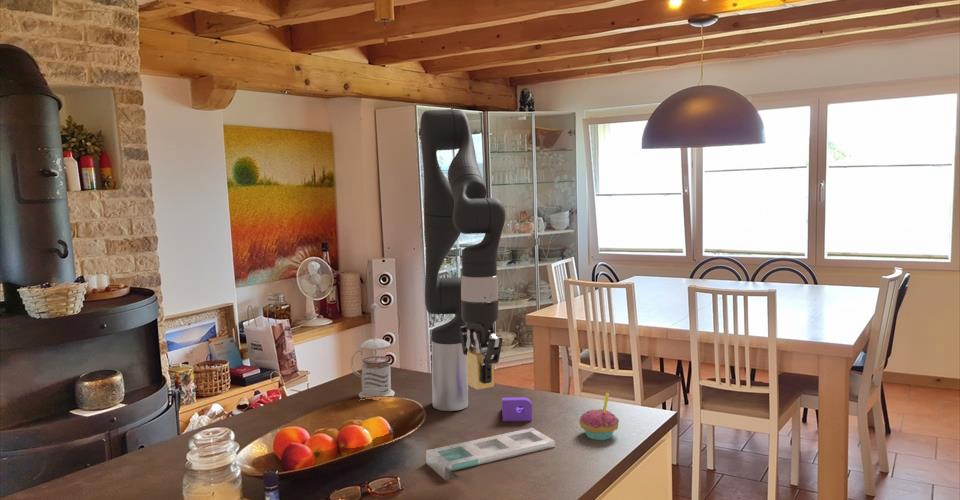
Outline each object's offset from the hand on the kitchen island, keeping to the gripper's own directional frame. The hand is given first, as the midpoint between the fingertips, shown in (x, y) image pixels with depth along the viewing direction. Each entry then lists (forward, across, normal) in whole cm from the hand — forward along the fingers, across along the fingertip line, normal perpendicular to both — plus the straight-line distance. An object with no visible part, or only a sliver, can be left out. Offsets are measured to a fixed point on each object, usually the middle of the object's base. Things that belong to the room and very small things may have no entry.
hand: (480, 379), depth 142 cm
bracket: (+18, -18, +20) cm, 32 cm away
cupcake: (+18, +4, +28) cm, 33 cm away
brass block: (+1, 0, 0) cm, 1 cm away
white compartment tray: (+17, 0, +3) cm, 18 cm away
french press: (+17, -54, -2) cm, 56 cm away
